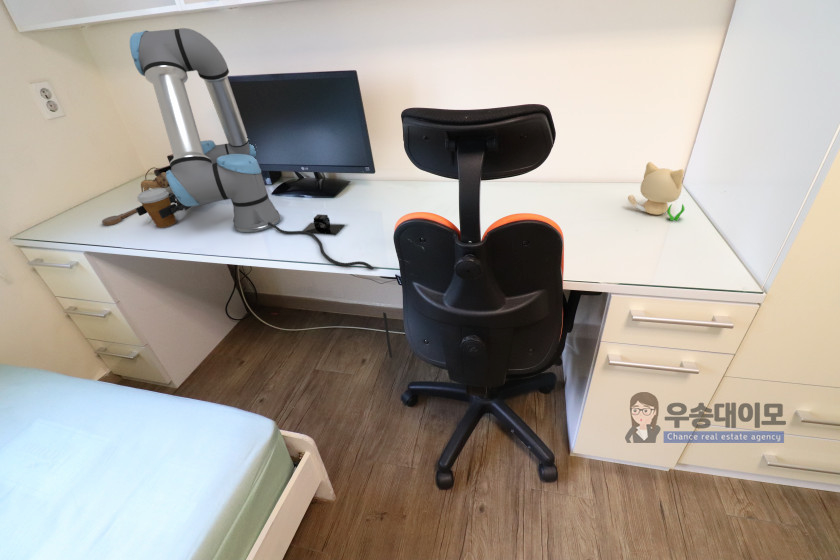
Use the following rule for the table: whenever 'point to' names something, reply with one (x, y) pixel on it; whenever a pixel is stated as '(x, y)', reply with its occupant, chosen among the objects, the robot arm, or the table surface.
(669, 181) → the kitten
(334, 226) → the build plate
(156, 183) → the lion figurine
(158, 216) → the disposable coffee cup
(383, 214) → the table surface
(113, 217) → the spoon
